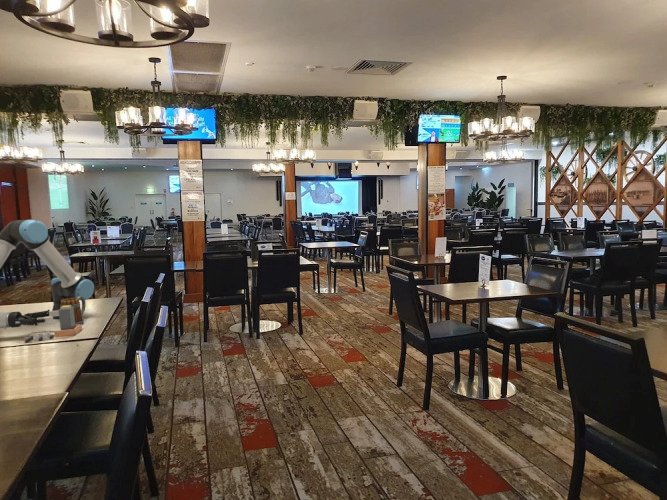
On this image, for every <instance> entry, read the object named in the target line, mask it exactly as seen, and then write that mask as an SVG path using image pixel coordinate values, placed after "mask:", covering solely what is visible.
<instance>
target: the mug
mask: <svg viewBox="0 0 667 500" xmlns="http://www.w3.org/2000/svg"><path fill="white" fill-rule="evenodd" d="M80 299H81V300H80ZM80 301H81V302H80ZM86 303H87V302H86V300H85V299H84V297H77V298H70V299H69V298H67V299H63V300H61V307H62V306H67V305H71V307H73V308H74V317H75V325H79V324H82V325H84V324H85V318H83V315H84V314H85V310H86V308H87V307H86V306H87V305H86Z"/></svg>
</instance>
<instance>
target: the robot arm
mask: <svg viewBox="0 0 667 500" xmlns="http://www.w3.org/2000/svg"><path fill="white" fill-rule="evenodd" d="M48 232H49V231H48V227H47V226H46V224H45V223H43V222H42V221H40V220H36V219H16V220H13V221H10V222H9V223H8V224H6V226H4V228H2V230H1V231H0V269H1V268H2V267H3V266H4V264H5V262H6V261H7V259H8V257H9V256H10V254H11V252H13V250H16V249H17V247H18V246H19V245H20V244H21V243H22V244H23V245H24V246H25V248H26V249H28V250H29V251H33V252H34V253H35V254H36V255H37V257H39V258H40V259H41V260H42V262H43V263H44V264H45V265H46V266H47V267H48V268H49V270H50V271H51V272H52V273H53V274H54V276H56V277H55V278H54V277H53V278H52V279H51V280H50V281H51V282H50V283H51V284H50V286H51V292H52V301H53V302H52V303H53V305H52V309H51V310H50V309H47V310H42V311H36V312H28V313H24V314H22V313H21V312H20V311H5V312H4V311H3V312H0V329H3V330H7V329H10V328H19V327H21V326H34V327H37V326H38V325H39V324H53V323H54V320H60V319H59V309H61V308H60V307H61V300H63V299H67V298H69V299H70V298H77V297H84V299H85V301H86V300H89V299H90V298H91V297H92V296H93V294H94V292H95V291H94V290H95V285H94V282H93V281H92V280H90V279H87V278H85V277H84V276H83V274H81V272H76V271H75V270H74V268H73V267H72V266H71V265H70V264H69V263H68V261H67V260H66V259H65V257H63V255H62V254H60V252H59V251H58V249H56V247H55V246H54V245H53V244H52V242H51V241H50V235H49V233H48ZM79 301H81V299H80V300H79Z"/></svg>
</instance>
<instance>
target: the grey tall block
mask: <svg viewBox="0 0 667 500" xmlns="http://www.w3.org/2000/svg"><path fill="white" fill-rule="evenodd" d="M60 308H61V309H59V319H58V320H59V325H60V328H59V329H60V330H71V329H74V328H75V327H76V326H75V317H74V308H73V307H71V305H67V306H62V307H60Z"/></svg>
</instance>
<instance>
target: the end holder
mask: <svg viewBox="0 0 667 500" xmlns="http://www.w3.org/2000/svg"><path fill="white" fill-rule="evenodd" d="M75 326H76V327H75V328H74V329H71V330H61V329H57V330H58V331H54V332H55V337H66V336H74V337H76V336H77V335H78V334H80V333H81V332H82V331H83V330H82V328H83V324H79V325H75ZM80 331H81V332H80Z"/></svg>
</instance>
